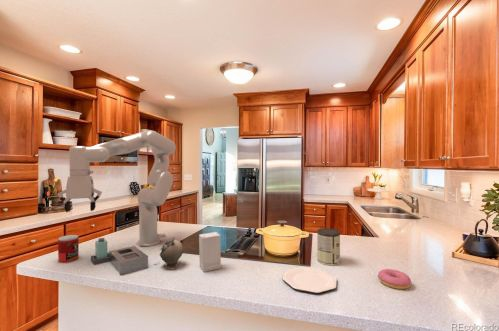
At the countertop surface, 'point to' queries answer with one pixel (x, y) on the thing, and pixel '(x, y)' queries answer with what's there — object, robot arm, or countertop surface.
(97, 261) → the tray
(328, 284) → the plate
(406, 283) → the doughnut
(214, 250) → the skincare box
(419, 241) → the countertop surface
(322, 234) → the coffee can
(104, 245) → the plug
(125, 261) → the port panel
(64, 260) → the canned food
